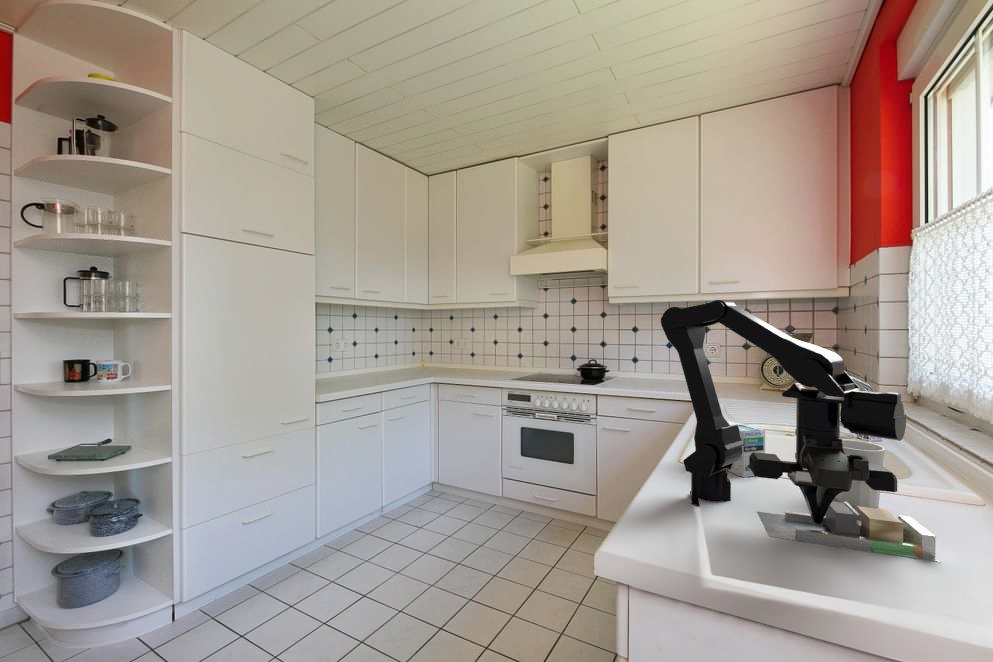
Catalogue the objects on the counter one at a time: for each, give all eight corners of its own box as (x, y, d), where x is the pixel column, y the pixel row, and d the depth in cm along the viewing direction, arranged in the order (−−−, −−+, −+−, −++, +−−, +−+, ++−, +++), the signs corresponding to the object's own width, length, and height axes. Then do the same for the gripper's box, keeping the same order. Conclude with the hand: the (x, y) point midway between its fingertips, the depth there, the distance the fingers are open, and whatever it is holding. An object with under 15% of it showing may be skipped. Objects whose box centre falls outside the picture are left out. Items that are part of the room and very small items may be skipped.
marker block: (869, 544, 67) (869, 518, 67) (856, 530, 71) (856, 506, 71) (902, 549, 65) (903, 522, 65) (887, 534, 70) (887, 509, 70)
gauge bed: (769, 543, 69) (769, 528, 69) (757, 518, 79) (757, 504, 79) (941, 570, 62) (941, 553, 62) (905, 538, 71) (905, 523, 71)
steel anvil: (921, 554, 64) (922, 534, 64) (898, 533, 70) (898, 515, 70) (935, 556, 63) (935, 536, 63) (910, 535, 70) (910, 516, 70)
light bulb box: (766, 475, 101) (767, 429, 101) (743, 478, 99) (743, 431, 99) (730, 461, 112) (730, 419, 111) (708, 464, 110) (708, 421, 109)
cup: (895, 518, 78) (895, 452, 78) (844, 514, 80) (845, 449, 80) (867, 501, 86) (867, 440, 86) (821, 498, 88) (822, 438, 88)
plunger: (838, 540, 67) (838, 513, 67) (825, 524, 73) (825, 499, 73) (862, 543, 66) (862, 516, 66) (847, 527, 72) (847, 501, 72)
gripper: (761, 433, 67) (760, 534, 67) (917, 445, 60) (916, 558, 60) (748, 419, 77) (748, 507, 77) (880, 428, 70) (879, 524, 71)
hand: (816, 522), depth 71 cm, fingers closed
